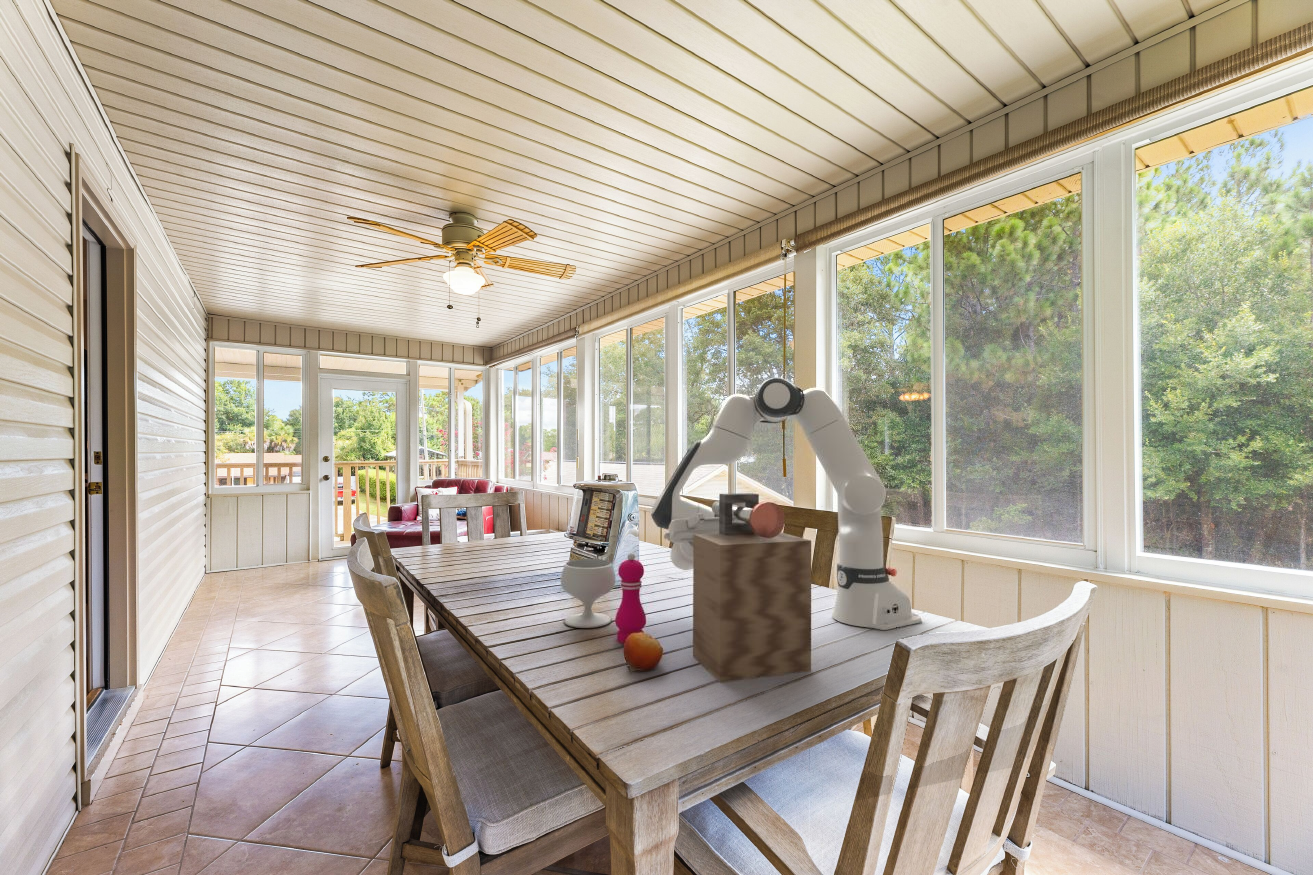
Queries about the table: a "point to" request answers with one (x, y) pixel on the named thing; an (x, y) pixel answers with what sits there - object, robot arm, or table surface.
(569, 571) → the chalice
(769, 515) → the steel pin
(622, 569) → the pepper mill
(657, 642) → the fruit
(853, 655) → the table surface
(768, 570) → the walnut post
